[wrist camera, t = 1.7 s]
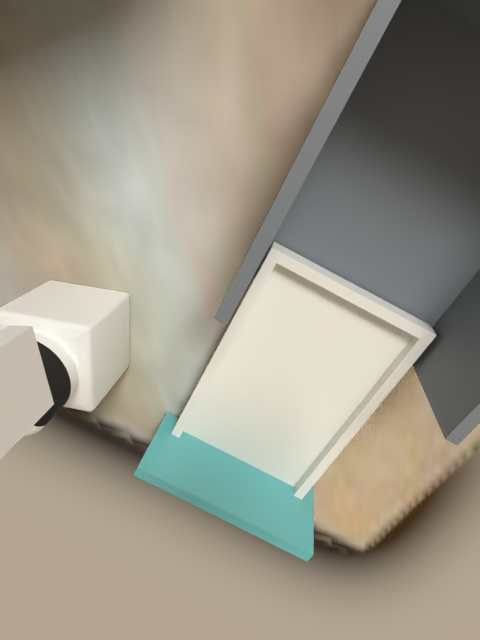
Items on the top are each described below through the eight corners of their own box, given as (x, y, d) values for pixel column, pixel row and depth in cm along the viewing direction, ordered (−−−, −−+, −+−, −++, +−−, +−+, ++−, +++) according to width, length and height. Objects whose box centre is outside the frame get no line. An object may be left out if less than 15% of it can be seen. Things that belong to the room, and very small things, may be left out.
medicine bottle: (49, 278, 35) (-70, 342, 24) (131, 292, 34) (45, 364, 23) (56, 352, 38) (-48, 439, 27) (130, 366, 37) (55, 461, 26)
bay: (242, 266, 32) (213, 318, 22) (398, -35, 23) (452, -145, 14) (417, 359, 32) (457, 445, 23) (630, 100, 24) (824, 77, 15)
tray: (163, 419, 38) (133, 475, 32) (260, 232, 30) (245, 257, 24) (308, 493, 39) (306, 561, 33) (442, 330, 31) (476, 380, 24)
